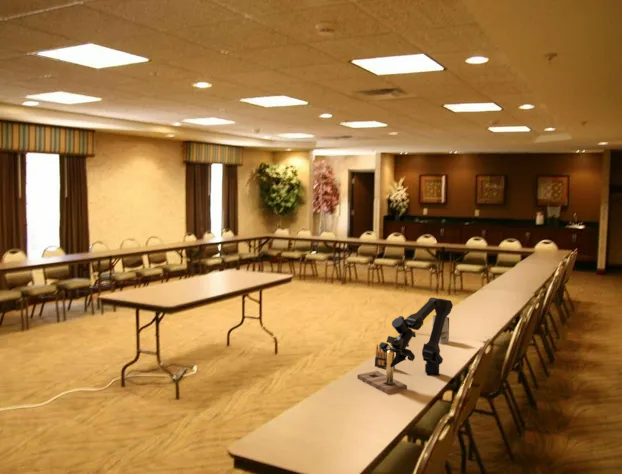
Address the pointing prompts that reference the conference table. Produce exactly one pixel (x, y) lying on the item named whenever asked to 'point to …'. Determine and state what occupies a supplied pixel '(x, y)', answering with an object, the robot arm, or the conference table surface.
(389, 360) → the brass peg
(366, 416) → the conference table surface
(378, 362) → the ammunition clip
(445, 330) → the coffee box
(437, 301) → the robot arm
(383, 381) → the block
